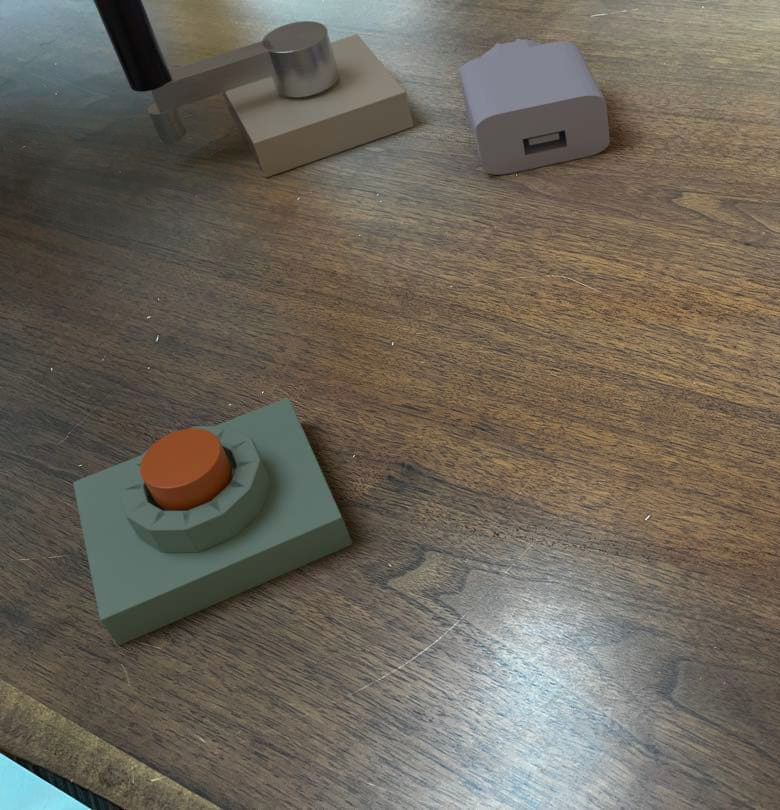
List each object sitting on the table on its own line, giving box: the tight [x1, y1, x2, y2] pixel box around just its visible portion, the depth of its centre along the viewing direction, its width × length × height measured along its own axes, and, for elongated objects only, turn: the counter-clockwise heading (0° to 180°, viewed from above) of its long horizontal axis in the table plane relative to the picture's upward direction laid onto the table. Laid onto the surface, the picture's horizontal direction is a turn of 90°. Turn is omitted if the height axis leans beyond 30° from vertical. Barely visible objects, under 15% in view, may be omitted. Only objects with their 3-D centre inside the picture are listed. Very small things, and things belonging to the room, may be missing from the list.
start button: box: [140, 427, 232, 511], centre depth 54 cm, size 4×4×2 cm
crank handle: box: [92, 0, 339, 144], centre depth 79 cm, size 15×5×12 cm, turn 115°
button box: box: [72, 396, 353, 647], centre depth 55 cm, size 12×10×4 cm
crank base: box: [222, 33, 414, 179], centre depth 85 cm, size 12×12×3 cm
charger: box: [458, 37, 611, 176], centre depth 81 cm, size 5×9×15 cm
